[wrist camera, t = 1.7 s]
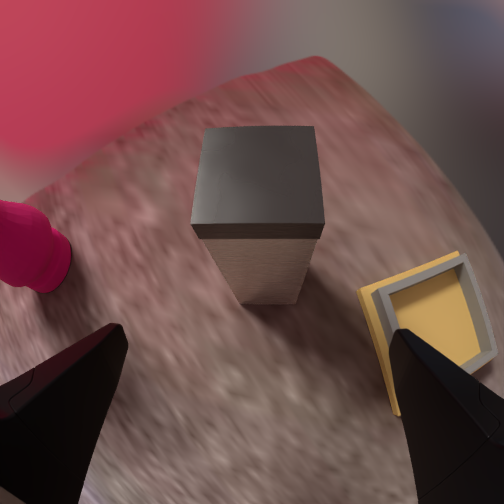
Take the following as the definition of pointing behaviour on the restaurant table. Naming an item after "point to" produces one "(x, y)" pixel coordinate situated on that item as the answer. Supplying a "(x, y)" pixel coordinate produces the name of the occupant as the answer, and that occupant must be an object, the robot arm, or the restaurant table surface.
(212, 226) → the grey rectangular block
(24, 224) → the pepper mill
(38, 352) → the restaurant table surface
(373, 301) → the square tray
